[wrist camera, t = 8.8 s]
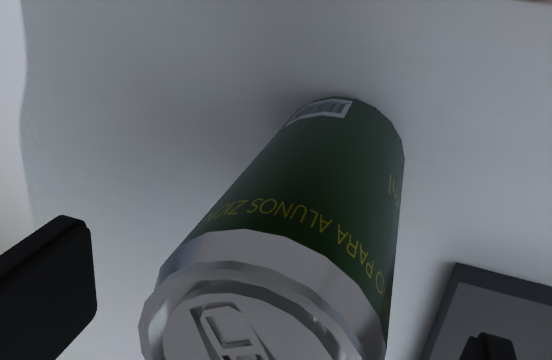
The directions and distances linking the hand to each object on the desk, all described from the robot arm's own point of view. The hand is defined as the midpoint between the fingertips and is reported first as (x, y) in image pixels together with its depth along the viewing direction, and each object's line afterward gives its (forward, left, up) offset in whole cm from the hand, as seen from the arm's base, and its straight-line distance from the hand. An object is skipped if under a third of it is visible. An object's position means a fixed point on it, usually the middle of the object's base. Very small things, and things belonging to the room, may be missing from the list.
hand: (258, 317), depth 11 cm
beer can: (0, 0, -11) cm, 11 cm away
